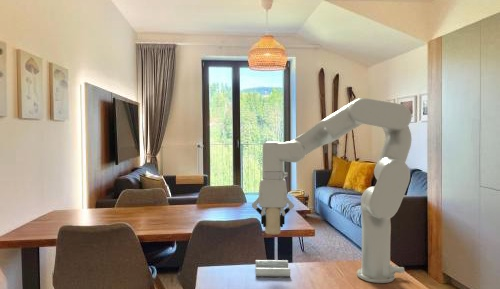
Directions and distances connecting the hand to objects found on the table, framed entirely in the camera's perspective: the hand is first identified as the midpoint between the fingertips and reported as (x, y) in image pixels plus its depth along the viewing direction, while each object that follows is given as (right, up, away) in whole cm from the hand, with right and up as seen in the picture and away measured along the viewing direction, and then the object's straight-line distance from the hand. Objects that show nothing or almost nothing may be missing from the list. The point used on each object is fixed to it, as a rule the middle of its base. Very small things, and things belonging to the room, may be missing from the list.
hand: (272, 225), depth 136 cm
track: (0, -17, 0) cm, 17 cm away
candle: (0, -3, 0) cm, 3 cm away
